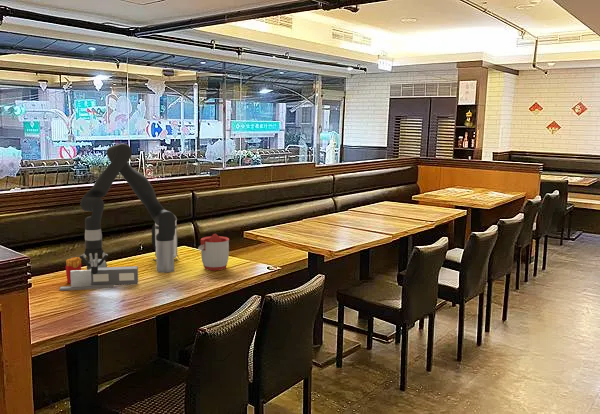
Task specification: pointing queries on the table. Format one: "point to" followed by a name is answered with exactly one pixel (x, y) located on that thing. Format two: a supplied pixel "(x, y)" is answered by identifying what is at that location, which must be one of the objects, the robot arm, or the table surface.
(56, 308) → the table surface
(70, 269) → the french fries
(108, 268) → the grey box with rod
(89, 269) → the ceramic mug
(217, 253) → the citrus juicer
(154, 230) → the coffee press
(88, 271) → the sliding shutter
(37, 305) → the table surface
